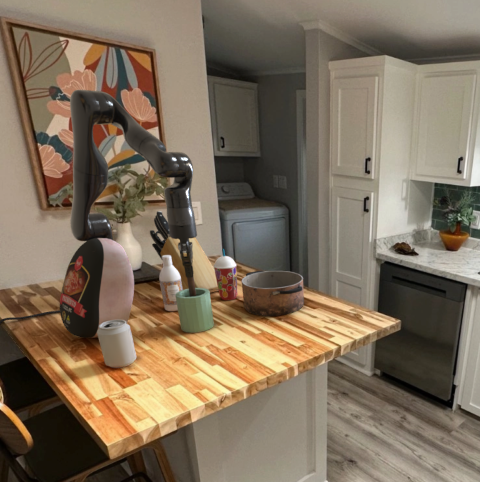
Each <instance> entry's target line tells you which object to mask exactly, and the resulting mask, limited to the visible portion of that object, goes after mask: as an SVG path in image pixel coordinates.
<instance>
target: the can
mask: <svg viewBox="0 0 480 482" xmlns="http://www.w3.org/2000/svg"><path fill="white" fill-rule="evenodd" d="M97 334H98V337H97V338H98V342H99V345H100V349H101V353H102V357H103V361H104V364H105V366H108V367H110V368H113V369H119V368H125V367H127V366H130V365H132V364H133V363H134V361H136V359H137V352H136V348H135V343H134V339H133V334H132V330H131V325H129V324H128V323H127V324H126V321H125V320H119V319H118V320H110V321H106V322H103V323H101V324H100V325H99V329H98V331H97Z"/></svg>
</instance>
